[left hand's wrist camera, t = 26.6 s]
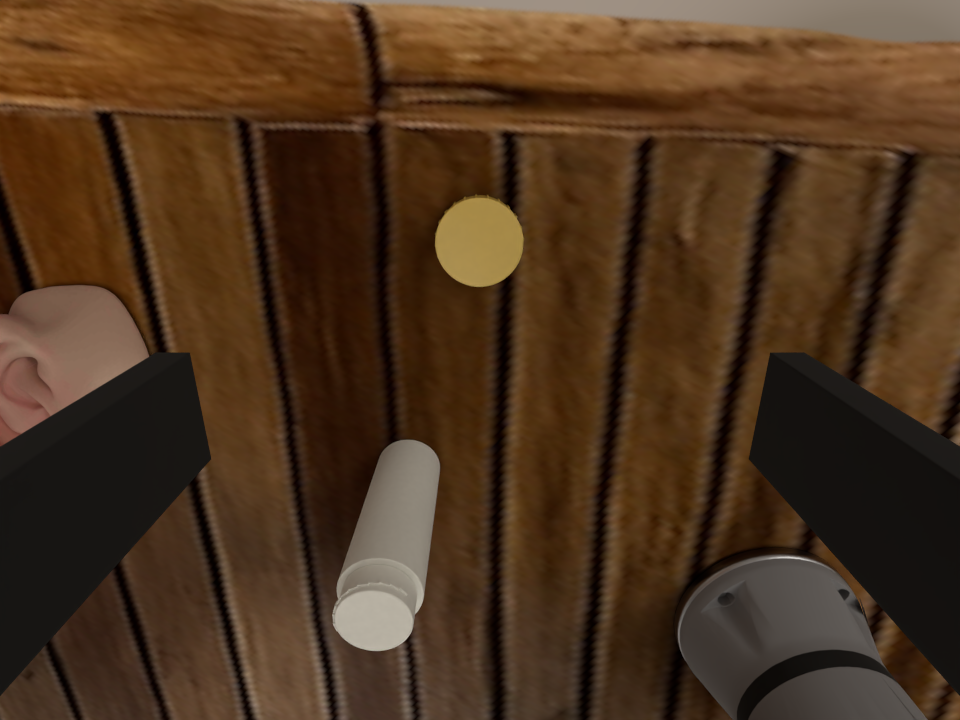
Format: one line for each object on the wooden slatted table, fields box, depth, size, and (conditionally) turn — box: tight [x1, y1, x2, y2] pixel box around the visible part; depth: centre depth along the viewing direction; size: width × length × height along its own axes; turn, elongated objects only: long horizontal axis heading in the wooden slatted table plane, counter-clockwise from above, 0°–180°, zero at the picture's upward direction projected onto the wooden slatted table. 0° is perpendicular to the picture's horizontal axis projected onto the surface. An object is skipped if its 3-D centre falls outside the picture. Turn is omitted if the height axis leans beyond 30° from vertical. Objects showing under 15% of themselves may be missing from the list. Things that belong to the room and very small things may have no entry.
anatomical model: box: [0, 285, 149, 446], centre depth 38 cm, size 13×4×12 cm
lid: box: [435, 194, 524, 287], centre depth 35 cm, size 6×6×2 cm
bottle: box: [332, 440, 440, 651], centre depth 36 cm, size 5×5×15 cm
